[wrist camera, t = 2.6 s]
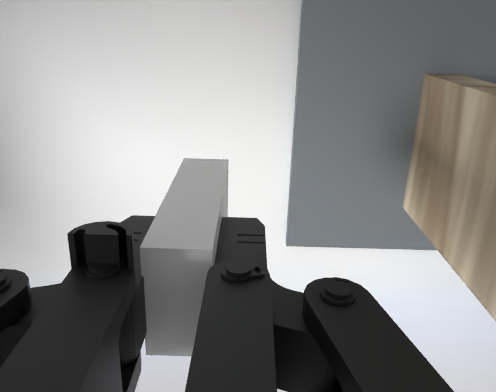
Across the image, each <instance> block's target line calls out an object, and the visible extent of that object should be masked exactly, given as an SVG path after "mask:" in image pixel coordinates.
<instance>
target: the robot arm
mask: <svg viewBox="0 0 496 392" xmlns="http://www.w3.org/2000/svg"><path fill="white" fill-rule="evenodd" d="M227 214H228V160H221V159H190V158H184V160H183V162H182V164H181V166H180V168H179V170H178V172H177V174H176V176H175V178H174V180H173V182H172V184H171V186H170V188H169V190H168V192H167V194H166V196H165V198H164V200H163V202H162V204H161V206H160V208H159V210H158V212H157V214H156V216H131V217H129V218H127V219H126V220H124V221H122V222H121V223H118V222H110V221H107V222H94V223H89V224H84V225H82V226H79V227H77V228H74V229H73V230H72V231H70V232H69V233H68V242H69V251H70V259H71V267H72V269H71V271H70V272H69V273H68V275H67V276H66V278H65V279H64V280H63V282H62V283H60V284H55V285H49V286H42V287H35V288H30V285H29V278H28V277H27V276H26V274H25V273H23V272H21V271H18V270H11V269H0V392H134V391H135V388H136V385H137V382H138V379H139V376H140V372H141V352H140V350H141V347H142V344H143V341H144V338H145V343H146V355H168V356H192V357H191V363H190V368H189V373H188V379H187V384H186V389H185V392H277V389H280V390H284V391H287V392H454V391H453V390H452V389H451V388H450V386H449V385H448V384H447V383H446V382H445V381H444V379H443V378H442V377H441V376H440V375H439V374H438V372H437V371H436V370H435V369H434V368H433V367H432V365H431V364H430V363H429V362H428V361H427V359H426V358H425V357H424V356H423V355H422V354H421V352H420V351H419V350H418V349H417V348H416V347H415V345H414V344H413V343H412V342H411V341H410V340H409V338H408V337H407V336H406V335H405V334H404V333H403V331H402V330H401V329H400V328H399V327H398V325H397V324H396V323H395V322H394V321H393V320H392V318H391V317H390V316H389V315H388V314H387V313H386V311H385V310H384V309H383V308H382V307H381V306H380V304H379V303H378V302H377V301H376V300H375V299H374V297H373V296H372V295H371V294H370V293H369V292H368V291H367V290H366V289H365V288H363V287H362V286H361V285H359V284H357V283H354V282H352V281H350V280H347V279H341V278H336V277H334V278H322V279H317V280H314V281H312V282H311V283H309V284H308V285H307V286H306V288H305V290H304V293H302V292H297V291H293V290H290V289H286V288H284V287H282V286H280V285H278V284H277V283H275V282H274V281H273V280H272V279H271V278H270V274H269V272H268V269H267V258H266V240H265V226H264V225H263V224H262V223H261V222H260V221H259V220H258V219H257V218H237V217H227Z"/></svg>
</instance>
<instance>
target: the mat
mask: <svg viewBox="0 0 496 392" xmlns="http://www.w3.org/2000/svg"><path fill="white" fill-rule="evenodd" d="M424 74H450V75H464V76H468V77H472V78H475V79H479V80H483V81H487V82H490V83H494V84H496V0H302V8H301V23H300V38H299V53H298V68H297V83H296V98H295V113H294V128H293V143H292V158H291V173H290V188H289V203H288V218H287V233H286V246H304V247H340V248H377V249H414V250H437V249H436V248H435V246H434V245H433V244H432V243H431V242H430V240H429V239H428V238H427V237H426V235H425V234H424V233H423V232H422V231H421V229H420V228H419V227H418V226H417V224H416V223H415V222H414V221H413V220H412V218H411V217H410V216H409V215H408V213H407V212H406V211H405V210H404V209H403V203H404V196H405V190H406V184H407V178H408V172H409V166H410V160H411V153H412V147H413V141H414V135H415V129H416V123H417V117H418V111H419V104H420V98H421V92H422V86H423V80H424Z"/></svg>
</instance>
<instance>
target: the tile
mask: <svg viewBox="0 0 496 392" xmlns="http://www.w3.org/2000/svg"><path fill="white" fill-rule="evenodd" d="M403 209H404V210H405V211H406V212H407V213H408V215H409V216H410V217H411V218H412V220H413V221H414V222H415V223H416V224H417V226H418V227H419V228H420V229H421V231H422V232H423V233H424V234H425V235H426V237H427V238H428V239H429V240H430V242H431V243H432V244H433V245H434V246H435V248H436V249H437V250H438V251H439V253H440V254H441V255H442V256H443V257H444V259H445V260H446V261H447V262H448V264H449V265H450V266H451V267H452V268H453V270H454V271H455V272H456V273H457V275H458V276H459V277H460V278H461V279H462V281H463V282H464V283H465V284H466V286H467V287H468V288H469V289H470V290H471V292H472V293H473V294H474V295H475V297H476V298H477V299H478V300H479V301H480V303H481V304H482V305H483V306H484V308H485V309H486V310H487V311H488V312H489V314H490V315H491V316H492V317H493V319H494V320H495V321H496V84H494V83H490V82H487V81H483V80H479V79H475V78H472V77H468V76H464V75H450V74H424V80H423V86H422V92H421V98H420V104H419V111H418V117H417V123H416V129H415V135H414V141H413V147H412V153H411V160H410V166H409V172H408V178H407V184H406V190H405V196H404V203H403Z"/></svg>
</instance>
